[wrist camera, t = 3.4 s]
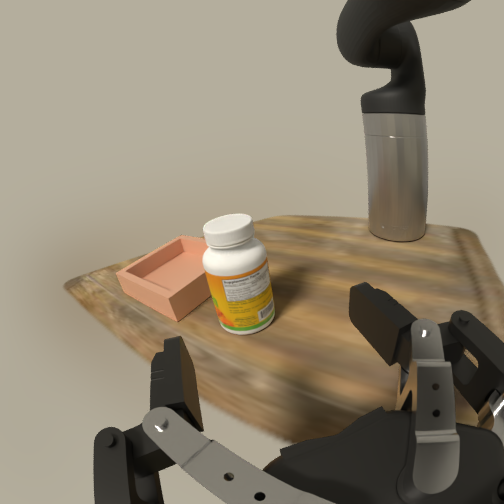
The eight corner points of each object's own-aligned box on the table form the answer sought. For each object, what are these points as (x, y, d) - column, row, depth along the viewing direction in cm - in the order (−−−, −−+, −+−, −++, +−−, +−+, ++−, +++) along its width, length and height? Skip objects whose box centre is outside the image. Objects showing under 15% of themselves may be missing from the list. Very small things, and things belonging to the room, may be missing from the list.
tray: (186, 252, 42) (181, 234, 40) (247, 266, 35) (242, 245, 33) (124, 292, 33) (115, 273, 32) (177, 322, 26) (168, 298, 25)
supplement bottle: (219, 305, 28) (196, 218, 24) (270, 296, 28) (256, 206, 24) (220, 341, 23) (190, 241, 19) (280, 330, 23) (265, 227, 19)
